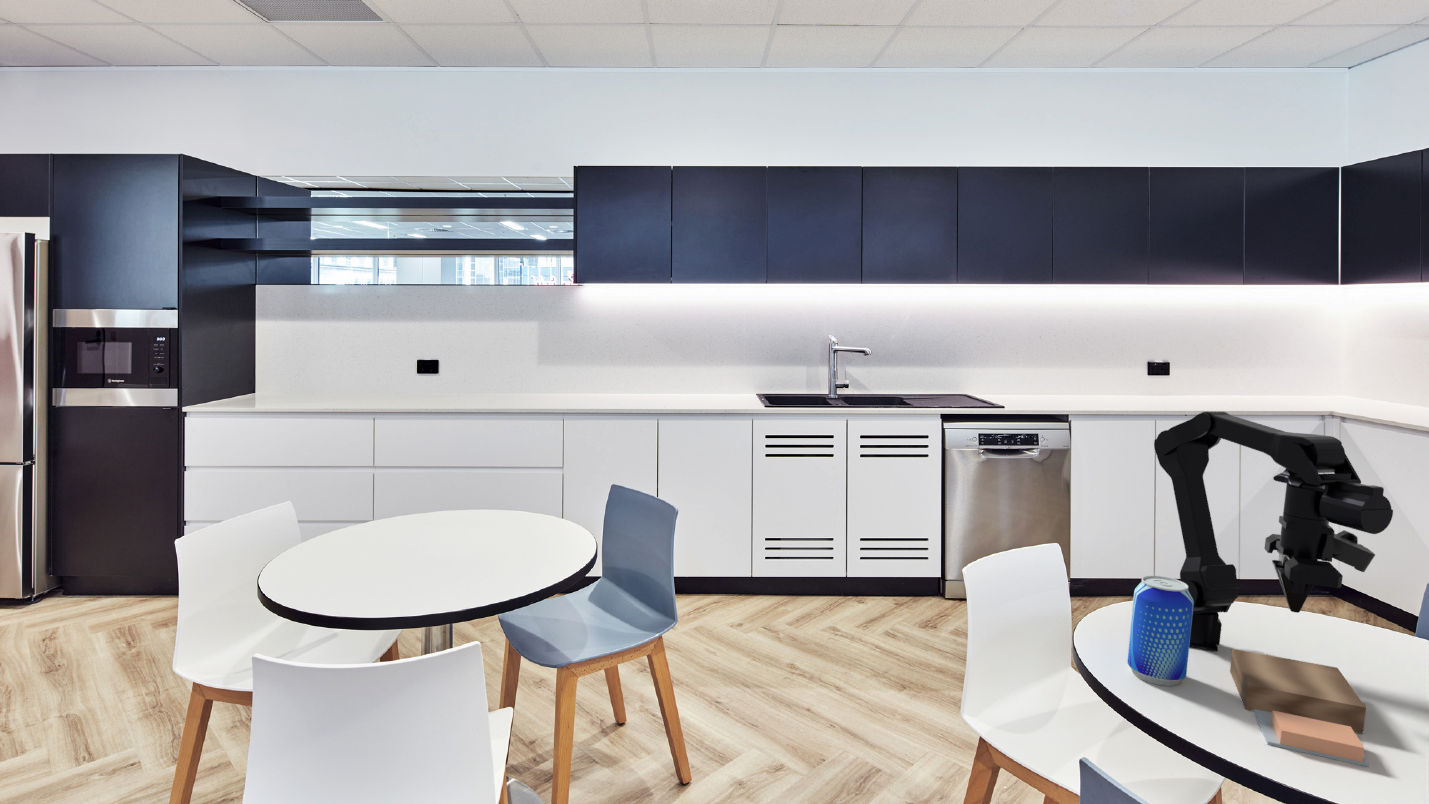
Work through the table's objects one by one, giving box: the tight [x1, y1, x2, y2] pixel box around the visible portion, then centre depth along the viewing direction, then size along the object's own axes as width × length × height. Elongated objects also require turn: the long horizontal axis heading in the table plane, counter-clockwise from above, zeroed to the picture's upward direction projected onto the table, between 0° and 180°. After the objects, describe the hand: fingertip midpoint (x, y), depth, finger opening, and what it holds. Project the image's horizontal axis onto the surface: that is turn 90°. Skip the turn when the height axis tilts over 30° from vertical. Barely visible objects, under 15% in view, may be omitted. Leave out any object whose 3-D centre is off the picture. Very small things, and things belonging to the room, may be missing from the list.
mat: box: [1253, 709, 1369, 767], centre depth 107 cm, size 11×10×1 cm
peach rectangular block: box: [1271, 710, 1365, 762], centre depth 105 cm, size 9×6×2 cm, turn 64°
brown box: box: [1229, 648, 1367, 735], centre depth 118 cm, size 14×14×4 cm
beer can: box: [1127, 575, 1194, 687], centre depth 124 cm, size 8×8×16 cm
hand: (1294, 611), depth 120 cm, fingers closed
